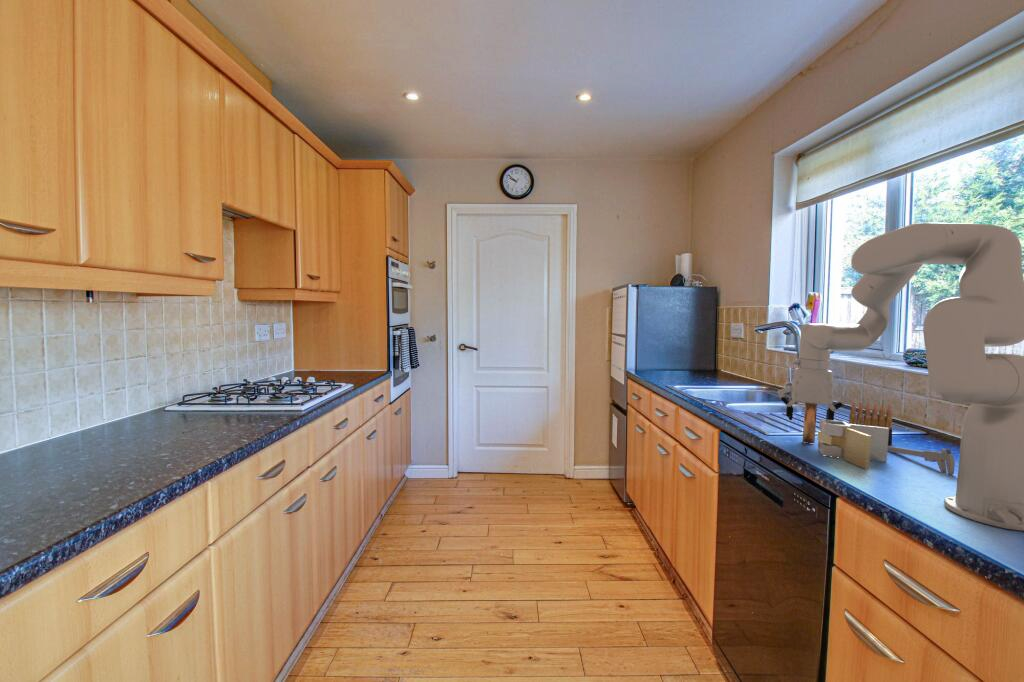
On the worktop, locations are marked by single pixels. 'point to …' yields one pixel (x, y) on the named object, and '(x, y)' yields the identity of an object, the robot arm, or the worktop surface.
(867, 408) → the ammunition clip
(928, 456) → the caliper
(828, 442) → the hinge leaf
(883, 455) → the hinge fixed
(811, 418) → the pin
